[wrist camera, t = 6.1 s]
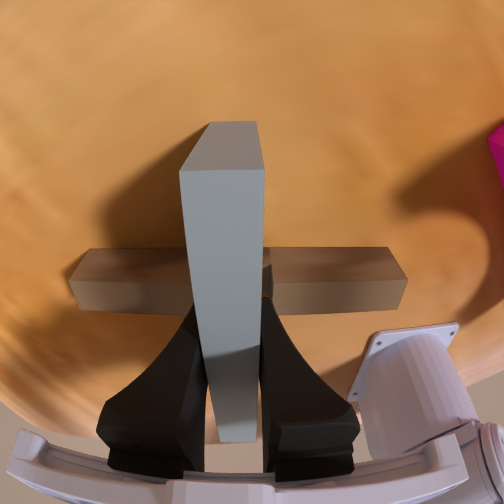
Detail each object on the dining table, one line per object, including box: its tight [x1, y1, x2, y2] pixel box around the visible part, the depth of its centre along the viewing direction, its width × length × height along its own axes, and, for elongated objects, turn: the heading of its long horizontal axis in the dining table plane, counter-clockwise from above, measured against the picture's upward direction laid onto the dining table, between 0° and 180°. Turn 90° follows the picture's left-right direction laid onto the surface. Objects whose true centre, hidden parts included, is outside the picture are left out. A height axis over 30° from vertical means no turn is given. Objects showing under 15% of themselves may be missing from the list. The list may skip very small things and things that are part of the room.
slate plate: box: [179, 122, 265, 443], centre depth 14 cm, size 15×2×7 cm, turn 0°
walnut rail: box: [68, 247, 408, 315], centre depth 16 cm, size 17×2×3 cm, turn 90°
